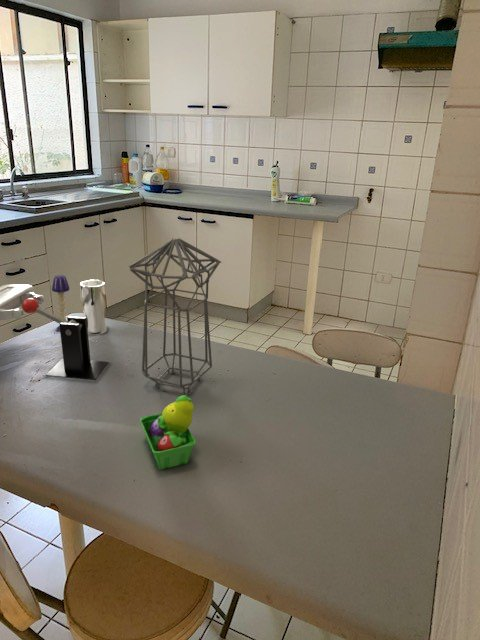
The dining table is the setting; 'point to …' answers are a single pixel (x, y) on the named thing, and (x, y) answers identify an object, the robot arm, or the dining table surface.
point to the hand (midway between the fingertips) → (32, 306)
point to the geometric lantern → (163, 251)
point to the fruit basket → (171, 433)
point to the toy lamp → (60, 294)
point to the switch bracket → (76, 353)
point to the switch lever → (43, 311)
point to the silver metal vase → (94, 305)
